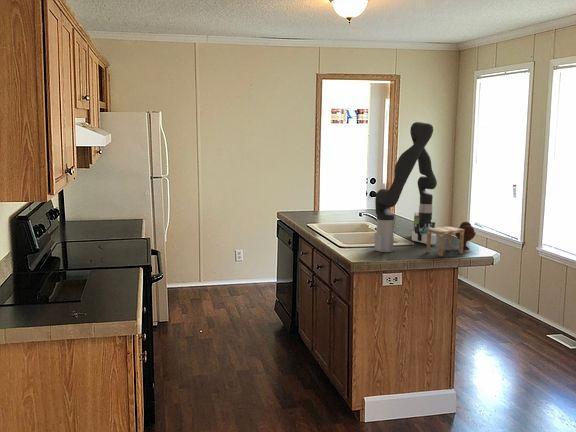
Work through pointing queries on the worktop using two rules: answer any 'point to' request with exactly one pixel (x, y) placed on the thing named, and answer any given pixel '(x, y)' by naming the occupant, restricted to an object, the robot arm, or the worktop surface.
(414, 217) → the tea box
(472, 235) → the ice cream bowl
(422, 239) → the white and teal block
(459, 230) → the beige wooden stool
